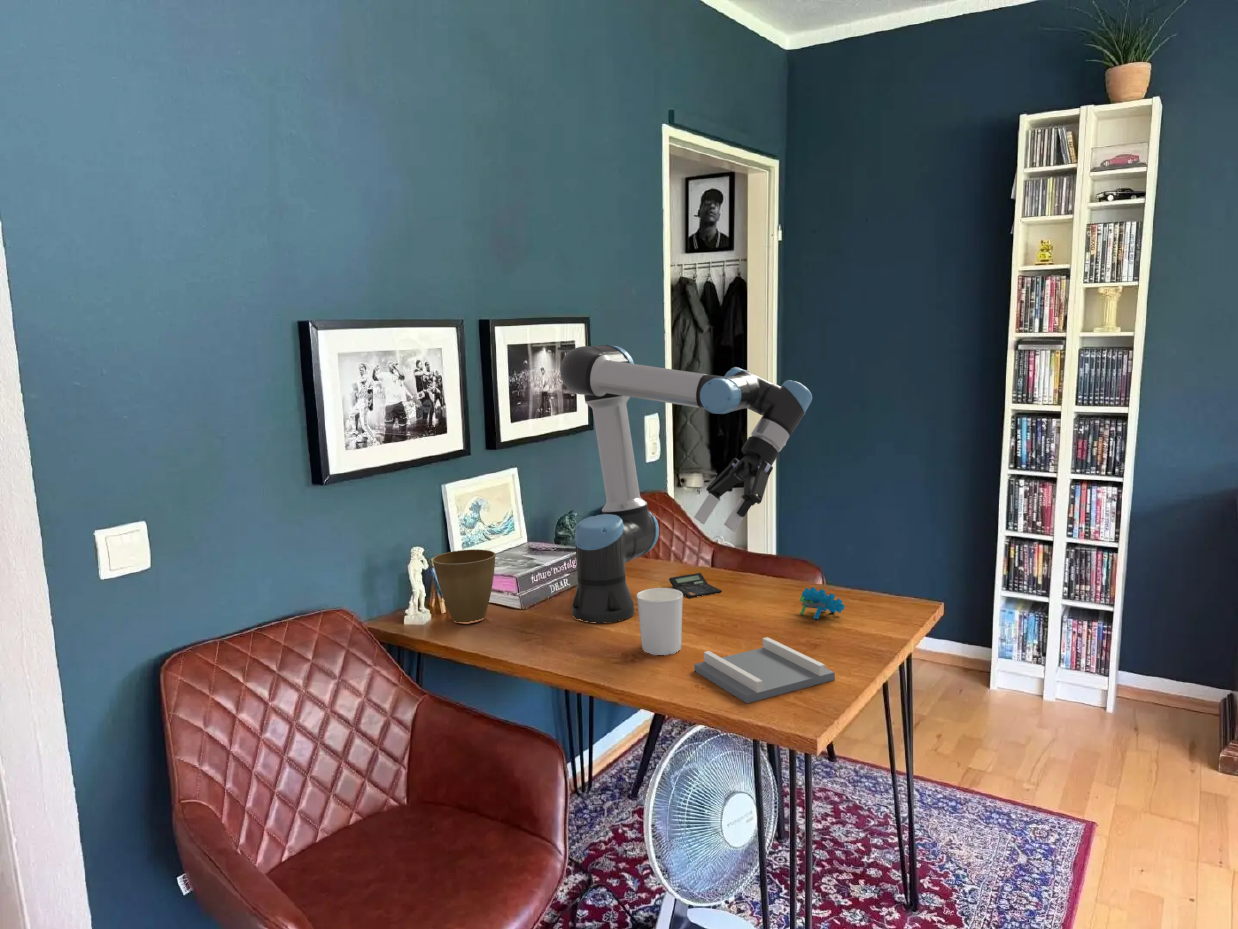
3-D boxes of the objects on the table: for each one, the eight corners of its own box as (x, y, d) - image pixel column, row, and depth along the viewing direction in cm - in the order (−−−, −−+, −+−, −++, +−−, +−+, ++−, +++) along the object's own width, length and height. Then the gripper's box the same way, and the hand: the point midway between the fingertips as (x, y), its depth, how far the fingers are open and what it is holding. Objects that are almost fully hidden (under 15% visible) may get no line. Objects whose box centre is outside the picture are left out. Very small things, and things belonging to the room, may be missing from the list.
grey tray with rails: (746, 703, 154) (746, 685, 153) (694, 671, 170) (693, 654, 169) (834, 679, 162) (834, 662, 162) (776, 651, 179) (776, 635, 178)
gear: (853, 609, 198) (831, 586, 193) (845, 632, 195) (821, 608, 191) (815, 606, 206) (792, 583, 202) (806, 627, 204) (783, 605, 199)
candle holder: (629, 650, 183) (626, 596, 181) (659, 637, 190) (656, 585, 188) (664, 660, 176) (662, 604, 175) (694, 647, 183) (692, 592, 182)
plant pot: (512, 616, 209) (508, 552, 207) (465, 634, 198) (460, 567, 196) (472, 607, 219) (467, 545, 217) (425, 623, 208) (419, 558, 205)
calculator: (689, 599, 218) (689, 588, 217) (669, 588, 228) (668, 577, 228) (722, 593, 221) (721, 582, 221) (700, 583, 232) (699, 572, 232)
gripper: (809, 456, 179) (755, 541, 175) (747, 452, 202) (699, 527, 198) (784, 435, 176) (730, 521, 172) (724, 433, 199) (675, 508, 195)
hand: (713, 524), depth 185 cm, fingers open, 13 cm apart
